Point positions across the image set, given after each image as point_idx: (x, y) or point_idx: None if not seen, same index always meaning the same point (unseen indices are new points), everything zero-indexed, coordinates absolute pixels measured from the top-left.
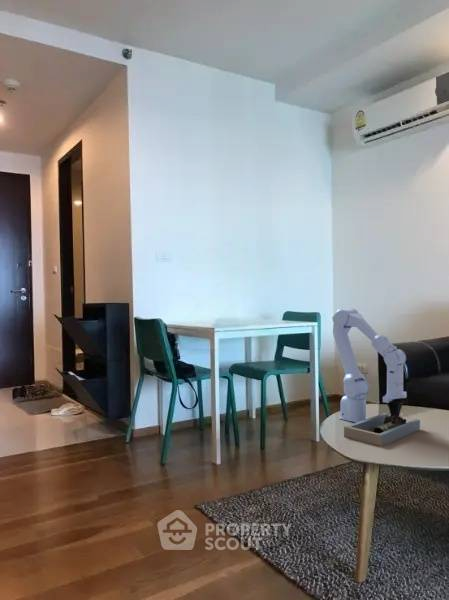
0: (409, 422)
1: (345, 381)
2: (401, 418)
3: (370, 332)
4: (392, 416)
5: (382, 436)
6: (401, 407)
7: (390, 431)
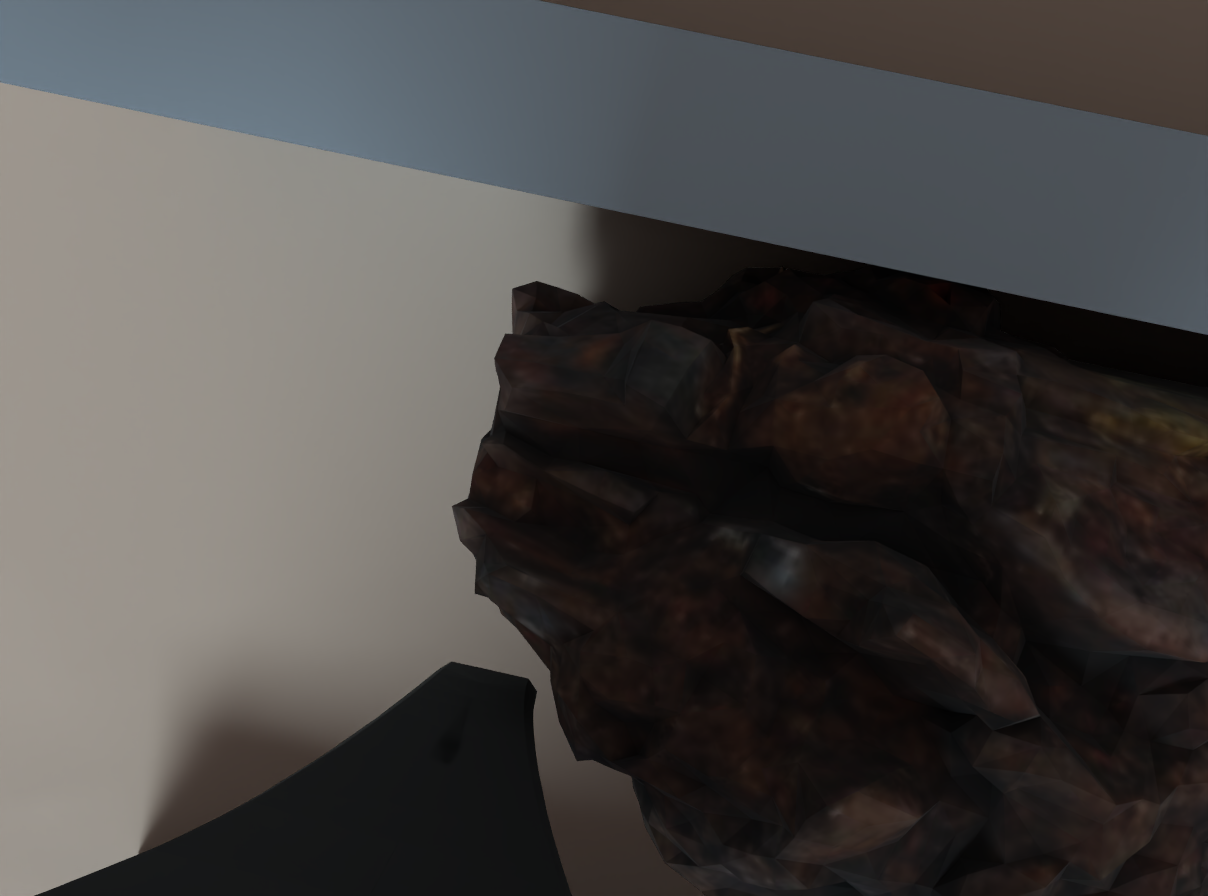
0: (692, 167)
1: None
2: (545, 545)
3: None
4: (1010, 877)
5: None
6: (109, 866)
7: None
